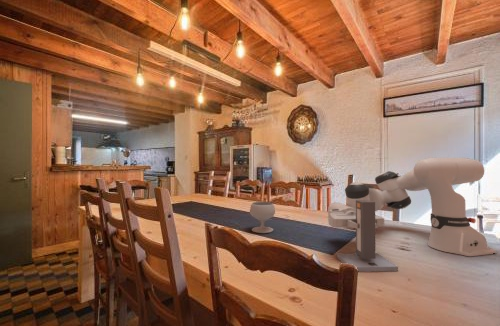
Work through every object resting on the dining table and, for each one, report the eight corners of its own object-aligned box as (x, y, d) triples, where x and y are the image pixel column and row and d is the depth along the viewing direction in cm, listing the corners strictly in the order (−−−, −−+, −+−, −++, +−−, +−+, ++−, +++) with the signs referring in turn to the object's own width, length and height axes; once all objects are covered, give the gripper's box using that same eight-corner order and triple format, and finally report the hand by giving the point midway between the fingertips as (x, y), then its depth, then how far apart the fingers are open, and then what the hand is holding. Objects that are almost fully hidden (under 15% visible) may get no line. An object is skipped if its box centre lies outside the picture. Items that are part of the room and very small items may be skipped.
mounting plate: (377, 256, 89) (377, 252, 89) (398, 271, 77) (398, 266, 77) (337, 257, 89) (337, 253, 89) (351, 271, 77) (351, 267, 77)
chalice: (267, 226, 135) (267, 200, 136) (280, 232, 123) (279, 204, 123) (246, 228, 130) (245, 202, 130) (256, 235, 117) (256, 206, 117)
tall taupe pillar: (367, 253, 86) (367, 199, 86) (375, 258, 81) (375, 202, 81) (355, 253, 86) (355, 200, 86) (362, 258, 81) (362, 202, 81)
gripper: (373, 224, 96) (394, 234, 83) (325, 225, 96) (338, 235, 82) (372, 209, 97) (394, 217, 83) (325, 210, 96) (338, 217, 82)
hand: (366, 226), depth 82 cm, fingers closed on tall taupe pillar, 5 cm apart
